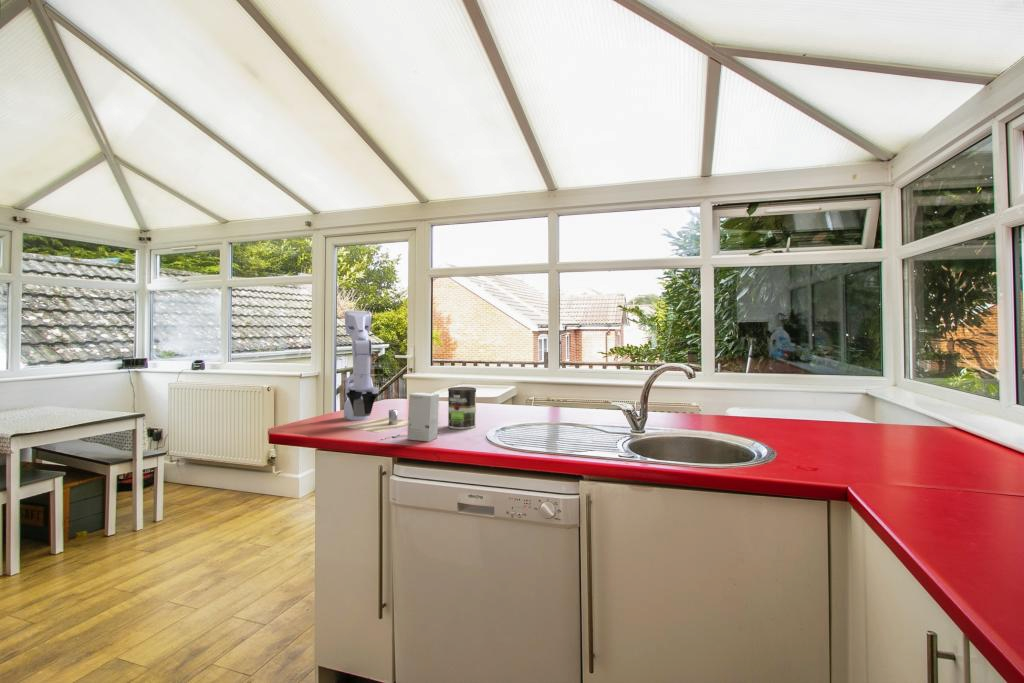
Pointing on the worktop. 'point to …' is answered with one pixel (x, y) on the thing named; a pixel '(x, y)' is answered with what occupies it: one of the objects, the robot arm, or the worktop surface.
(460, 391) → the coffee can
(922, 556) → the worktop surface
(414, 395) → the skincare box
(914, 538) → the worktop surface
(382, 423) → the beige cloth
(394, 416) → the post
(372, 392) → the robot arm
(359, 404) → the cap
